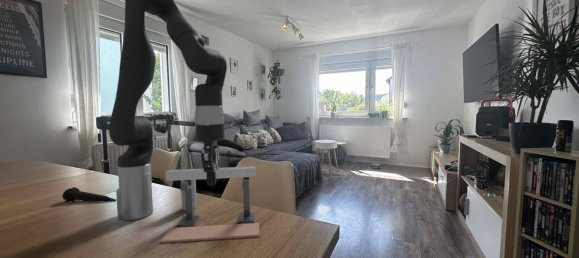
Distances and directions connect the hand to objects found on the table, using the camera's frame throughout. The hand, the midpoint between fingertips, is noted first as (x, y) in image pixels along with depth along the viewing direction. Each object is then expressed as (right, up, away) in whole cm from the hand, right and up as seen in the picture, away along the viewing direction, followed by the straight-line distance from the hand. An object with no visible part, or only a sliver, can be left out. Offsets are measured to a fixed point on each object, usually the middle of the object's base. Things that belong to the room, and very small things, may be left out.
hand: (212, 183), depth 68 cm
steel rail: (0, +2, 0) cm, 2 cm away
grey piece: (-14, -13, +18) cm, 27 cm away
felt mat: (0, -14, +1) cm, 14 cm away
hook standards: (-1, -14, +8) cm, 16 cm away
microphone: (-56, -13, +25) cm, 63 cm away
